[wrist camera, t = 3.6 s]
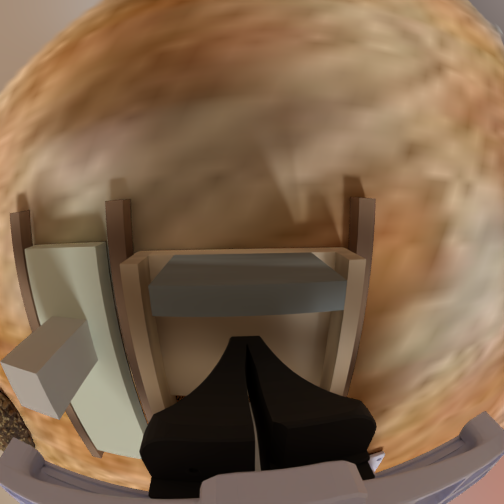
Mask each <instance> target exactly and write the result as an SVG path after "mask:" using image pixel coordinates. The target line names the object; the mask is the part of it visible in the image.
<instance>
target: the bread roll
mask: <svg viewBox="0 0 504 504" xmlns="http://www.w3.org/2000/svg"><path fill="white" fill-rule="evenodd" d="M12 438H17V439H18V440H20V441H22V442H24V443H26V444H28V445H30V446H32V447H34V448H35V444H34V442H33V440H32V437H31V433H30V431H29V430H28V428H27V427H26V426H25V424H24V422H23V420H22V418H21V416H20V414H19V412H18V410H17V409H16V408H15V406H14V405H13V403H12V402H11V401H10V400H9V399H8V398H7V397H6V396H5V395H3V394H2V393H1V392H0V450H2V451H5V449H6V448H7V446H8V444H9V443H10V441H11V440H12Z"/></svg>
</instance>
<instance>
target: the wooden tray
mask: <svg viewBox="0 0 504 504" xmlns="http://www.w3.org/2000/svg"><path fill="white" fill-rule="evenodd" d="M365 266H366V259H365V258H363V257H361V256H359V255H357V254H355V253H353V252H351V251H350V250H348V249H346V248H344V247H327V248H265V249H209V250H159V251H138V252H137V253H135V254H134V255H132V256H131V257H129V258H128V259H126V260H125V261H124V262H122V263H121V264H120V272H121V280H122V287H123V293H124V300H125V306H126V311H127V317H128V322H129V327H130V332H131V337H132V341H133V346H134V350H135V355H136V359H137V363H138V367H139V370H140V374H141V378H142V382H143V385H144V389H145V392H146V395H147V399H148V402H149V405H150V408H151V411H152V414H155V413H157V412H160V411H162V410H164V409H166V408H168V407H170V406H172V405H173V404H175V403H177V399H176V395H180V396H187V395H188V394H190V393H191V392H192V391H193V390H194V389H196V388H197V387H198V386H199V385H200V384H201V383H202V382H203V381H204V380H205V379H206V378H207V376H208V375H209V374H210V373H211V371H212V370H213V369H214V367H215V366H216V364H217V363H218V362H219V360H220V358H221V357H222V355H223V353H224V351H225V349H226V347H227V345H228V342H229V339H230V338H231V337H232V336H260V337H261V338H262V339H263V341H264V342H265V343H266V345H267V346H268V347H269V348H270V349H271V351H272V352H273V353H274V354H275V355H276V356H277V357H278V358H279V359H280V360H281V361H282V362H283V363H284V364H285V365H286V366H287V367H289V368H290V369H291V370H292V371H293V372H295V373H296V374H298V375H299V376H301V377H302V378H304V379H305V380H307V381H309V382H310V383H312V384H314V385H316V386H318V387H320V388H322V389H325V390H327V391H330V392H332V393H335V394H338V395H341V396H343V392H344V388H345V384H346V380H347V375H348V371H349V366H350V362H351V357H352V352H353V347H354V342H355V337H356V331H357V325H358V319H359V313H360V306H361V299H362V292H363V284H364V276H365ZM247 392H248V390H247ZM248 396H249V395H248Z"/></svg>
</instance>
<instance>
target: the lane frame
mask: <svg viewBox="0 0 504 504" xmlns="http://www.w3.org/2000/svg"><path fill="white" fill-rule="evenodd" d="M375 201H376V199H372V198H358V197H351V200H350V228H349V245H348V250H350V251H351V252H353V253H355V254H357V255H359V256H361V257H363V258H365V259H366V266H365V276H364V284H363V292H362V299H361V306H360V313H359V319H358V325H357V331H356V337H355V342H354V347H353V352H352V357H351V362H350V366H349V371H348V375H347V380H346V384H345V388H344V392H343V396H344V397H347V394H348V390H349V387H350V383H351V379H352V375H353V370H354V366H355V362H356V357H357V352H358V348H359V343H360V338H361V332H362V327H363V321H364V315H365V309H366V302H367V296H368V288H369V280H370V272H371V263H372V252H373V240H374V225H375ZM105 204H106V223H107V236H108V247H109V257H110V265H111V273H112V280H113V287H114V293H115V299H116V305H117V310H118V315H119V320H120V325H121V330H122V335H123V339H124V343H125V347H126V351H127V355H128V359H129V363H130V367H131V370H132V374H133V377H134V381H135V384H136V387H137V391H138V394H139V397H140V400H141V403H142V406H143V409H144V412H145V415H146V417H147V420H148V423H149V421H150V419H151V418H152V416H153V414H152V411H151V408H150V405H149V402H148V399H147V395H146V392H145V389H144V385H143V382H142V378H141V374H140V370H139V367H138V363H137V359H136V355H135V350H134V346H133V341H132V337H131V332H130V327H129V322H128V317H127V311H126V306H125V300H124V293H123V287H122V280H121V272H120V264H121V263H122V262H124V261H125V260H126V259H128V258H129V257H131V256H132V255H134V252H133V241H132V226H131V206H130V199H125V200H113V201H105ZM10 224H11V234H12V243H13V251H14V258H15V264H16V270H17V275H18V280H19V285H20V289H21V294H22V298H23V302H24V306H25V310H26V313H27V317H28V320H29V324H30V327H31V330H32V333H33V332H34V331H35V330H36V329H37V328H38V327H40V326H41V324H40V321H39V317H38V314H37V310H36V306H35V302H34V298H33V294H32V289H31V285H30V280H29V274H28V269H27V263H26V256H25V249H26V248H29V247H32V238H31V228H30V216H29V210H28V211H22V212H16V213H10ZM65 411H66V413H67V415H68V417H69V419H70V420H71V422H72V424H73V426H74V427H75V429H76V431H77V432H78V434H79V436H80V437H81V439H82V441H83V442H84V444H85V445H86V447H87V448H88V450H89V451H90V453H91V454H92V456H94V457H98V458H102V455H103V453H104V451H100V450H97V448H96V447H95V445H94V444H93V442H92V440H91V439H90V437H89V435H88V434H87V432H86V430H85V428H84V427H83V425H82V423H81V421H80V419H79V418H78V416H77V414H76V412H75V410H74V408H73V406H72V404H71V402H70V404H69V405H68V407H67V408H66V410H65Z"/></svg>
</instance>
